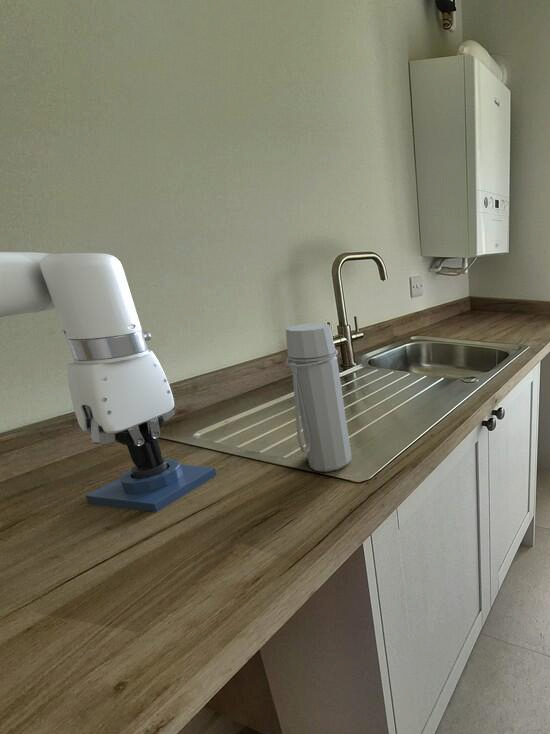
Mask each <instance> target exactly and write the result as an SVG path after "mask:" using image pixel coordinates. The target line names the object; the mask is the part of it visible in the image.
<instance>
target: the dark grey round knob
mask: <svg viewBox="0 0 550 734" xmlns="http://www.w3.org/2000/svg"><path fill="white" fill-rule="evenodd" d="M162 460H163V463H161V464H159V465H156V466H155V467H153V468H144V467H137V466H136V465H135V464H134V465H133V466H132V468H130V470H131V471H132V474H133V477H134V479H141V478H148V477H152V476H155V475H158V474H160V473H162V472H164V471H166V470H167V469H168V467H167V464H166V461H165V460H166V459H164V458H162Z"/></svg>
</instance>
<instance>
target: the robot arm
mask: <svg viewBox="0 0 550 734" xmlns="http://www.w3.org/2000/svg"><path fill="white" fill-rule="evenodd" d="M51 310H55V312H56V314H57V317H58V321H59V323H60V326H61V327H62V332H63V334H64V336H65V339H66V341H67V345H68V347H69V350H70V352H71V355H72V358H73V362H69V363H68V364H67V383H68V390H69V394H70V398H71V402H72V408H73V411H74V413H75V417H76V420H77V423H78V425H79V427H80V430H82V431H83V432H86V433H91V442H92V444H94V445H108V444H112V443H119V444H121V445H122V446H123V445H124V446H126V447H127V450H128V452H129V455H130V458H131V461H132V463H133V464H134V466H135V465H136V466H137V467H144V468H153V467H155V466H156V465H159V464H161V463H163V460H162V459H163V457H162V450H161V448H160V444H159V442H158V441H159V440H158V439H159V438H160V436H161V429H162V427H163V425H164V422H167V421H168V420H169V419H171V418H172V417H174V416H175V414H176V413H175V410H174V407H175V399H174V396H173V391H172V389H171V385H170V383H169V380H168V378H167V376H166V373H165V371H164V369H163V367H162V365H161V362H160V361H159V359H158V358H157V356H156V355H155V353H154V352H153V350H151V349H149V348H148V344H147V341H150V340H151V339H152V336H151V333H150V332H148V331H143V329H142V325H141V322H140V319H139V316H138V313H137V309H136V306H135V302H134V300H133V296H132V293H131V289H130V287H129V283H128V279H127V277H126V273H125V270H124V267H123V264H122V263H121V261H120V260H119V259H118V258H117V257H116V256H115V255H113V254H108V253H105V252H104V253H103V252H68V253H67V252H66V253H47V252H35V251H16V252H15V251H0V318H5V317H11V316H18V315H24V314H32V313H39V312H46V311H51Z"/></svg>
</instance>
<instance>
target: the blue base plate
mask: <svg viewBox="0 0 550 734" xmlns="http://www.w3.org/2000/svg"><path fill="white" fill-rule="evenodd" d="M164 460H165V461H166V464H167V467H168V469H167V470H166V471H164V472H162V473H160V474H158V475H155V476H152V477H148V478H141V479H134V477H133V474H132V471H131V469H129V470H126V471H125V472H123V474H122V475H121V476H119V478H118V479H116V480H114V481H112V482H110V483H108V484H105V485H103V486H102V487H100V488H98V489H96V490H93V491H92V492H90V493H88V494H85V498H86V501H87V503H88V504H89V505H96V506H103V507H104V506H106V507H114V508H120V509H130V510H137V511H145V512H153V513H158V512H159V511H161V510H162V509H165V508H166V507H168V506H169V505H171V504H172V503H174V502H176V501H177V500H179V499H181V498H182V497H184V496H185V495H187V494H188V493H190V492H192V491H194V490H195V489H197V488H199V487H200V486H202V485H204V484H205V483H207V482H208V481H210V480H212V479H213V478H215V477H216V476H217V475H218V474H217V470H216V468H215V467H209V466H199V465H189V464H181V463H180V462H179V461H178V460H177V459H169V458H167V459H164Z"/></svg>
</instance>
